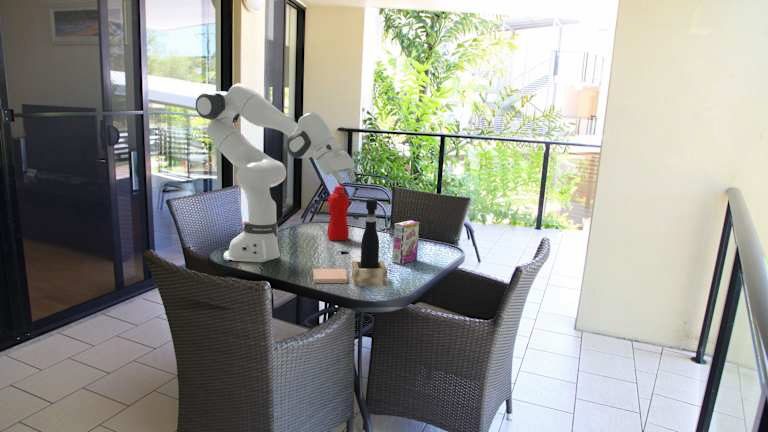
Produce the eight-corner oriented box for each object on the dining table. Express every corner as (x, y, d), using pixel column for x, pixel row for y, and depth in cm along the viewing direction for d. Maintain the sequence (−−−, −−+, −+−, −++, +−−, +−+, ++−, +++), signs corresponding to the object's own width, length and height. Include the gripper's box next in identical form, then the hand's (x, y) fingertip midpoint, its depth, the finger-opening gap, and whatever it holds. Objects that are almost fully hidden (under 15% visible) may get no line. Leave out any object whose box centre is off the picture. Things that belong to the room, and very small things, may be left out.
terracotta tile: (313, 283, 206) (313, 279, 206) (313, 272, 218) (313, 269, 217) (347, 282, 208) (347, 278, 208) (344, 272, 219) (344, 268, 219)
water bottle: (322, 237, 272) (323, 184, 267) (345, 236, 276) (346, 184, 271) (326, 241, 264) (327, 187, 259) (349, 241, 267) (351, 187, 262)
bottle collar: (354, 286, 205) (355, 269, 203) (351, 276, 216) (352, 260, 214) (386, 285, 206) (387, 269, 205) (382, 275, 217) (382, 260, 216)
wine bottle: (377, 278, 214) (380, 198, 208) (377, 284, 208) (381, 202, 202) (360, 277, 214) (362, 198, 208) (359, 283, 208) (362, 201, 202)
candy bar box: (401, 265, 232) (403, 225, 229) (391, 262, 235) (393, 223, 232) (417, 260, 241) (420, 221, 237) (408, 257, 244) (410, 219, 240)
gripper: (335, 153, 228) (354, 182, 227) (310, 157, 209) (330, 189, 208) (347, 144, 225) (366, 173, 224) (322, 147, 207) (342, 179, 206)
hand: (348, 181), depth 216 cm, fingers open, 8 cm apart
